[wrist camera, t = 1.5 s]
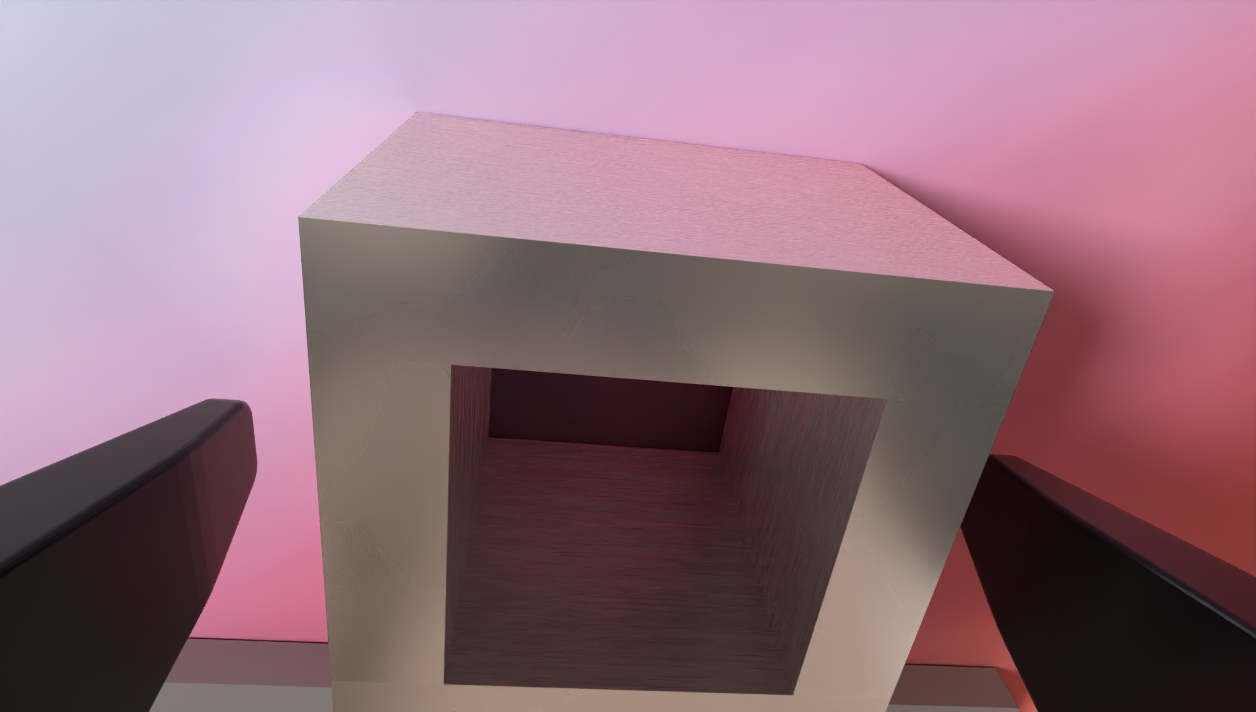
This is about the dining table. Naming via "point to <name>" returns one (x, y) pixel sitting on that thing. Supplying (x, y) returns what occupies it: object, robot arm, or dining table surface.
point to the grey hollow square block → (632, 476)
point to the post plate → (302, 692)
